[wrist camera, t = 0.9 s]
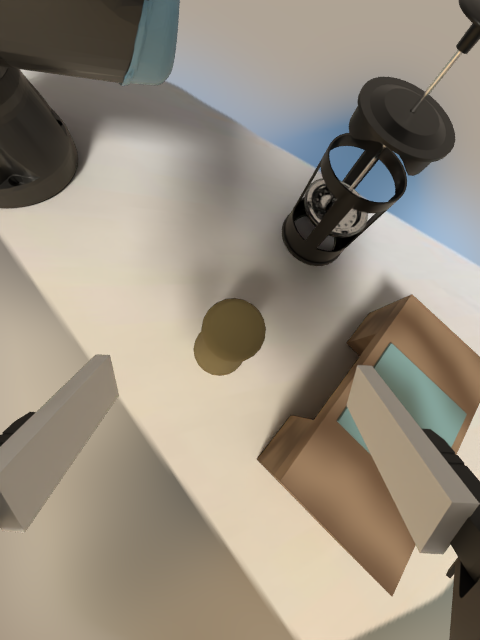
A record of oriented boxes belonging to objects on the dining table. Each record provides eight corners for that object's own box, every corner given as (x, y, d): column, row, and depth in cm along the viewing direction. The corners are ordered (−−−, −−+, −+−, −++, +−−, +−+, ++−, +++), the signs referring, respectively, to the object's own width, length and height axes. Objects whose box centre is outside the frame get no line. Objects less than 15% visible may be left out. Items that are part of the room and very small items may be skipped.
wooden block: (339, 544, 26) (395, 599, 19) (256, 459, 26) (281, 482, 19) (434, 374, 34) (497, 369, 27) (369, 313, 34) (414, 293, 27)
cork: (225, 314, 30) (244, 273, 20) (255, 354, 29) (291, 334, 19) (183, 343, 28) (180, 314, 18) (214, 386, 28) (230, 382, 17)
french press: (324, 282, 34) (556, 93, 13) (268, 245, 34) (405, -10, 13) (354, 226, 38) (568, 10, 17) (303, 192, 38) (453, -69, 17)
